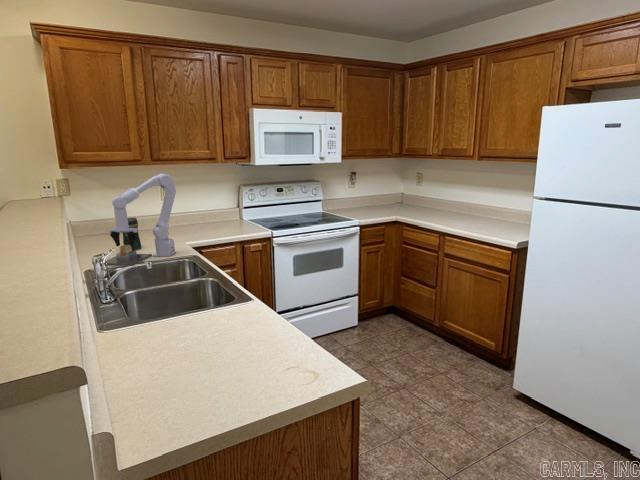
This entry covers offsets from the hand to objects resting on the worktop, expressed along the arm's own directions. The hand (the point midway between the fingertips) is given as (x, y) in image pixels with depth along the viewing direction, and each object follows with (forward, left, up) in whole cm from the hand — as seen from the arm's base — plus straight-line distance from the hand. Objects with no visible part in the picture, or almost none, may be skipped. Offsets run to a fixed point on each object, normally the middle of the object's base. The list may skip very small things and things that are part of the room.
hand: (125, 245), depth 214 cm
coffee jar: (+11, -24, -8) cm, 28 cm away
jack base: (0, 0, -8) cm, 8 cm away
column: (0, 0, -6) cm, 6 cm away
